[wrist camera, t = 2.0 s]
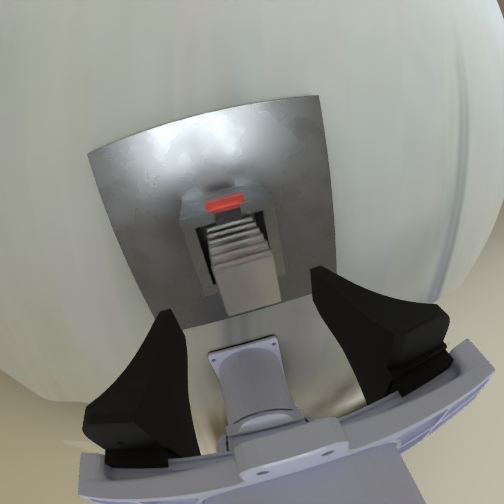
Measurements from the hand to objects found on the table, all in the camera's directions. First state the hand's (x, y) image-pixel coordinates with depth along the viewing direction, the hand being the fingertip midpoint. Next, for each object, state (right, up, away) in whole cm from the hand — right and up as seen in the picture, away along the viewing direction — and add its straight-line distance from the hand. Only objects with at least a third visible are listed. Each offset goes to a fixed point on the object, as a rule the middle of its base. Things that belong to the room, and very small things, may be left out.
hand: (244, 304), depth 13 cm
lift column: (-1, +4, +8) cm, 9 cm away
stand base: (-2, +5, +9) cm, 11 cm away
